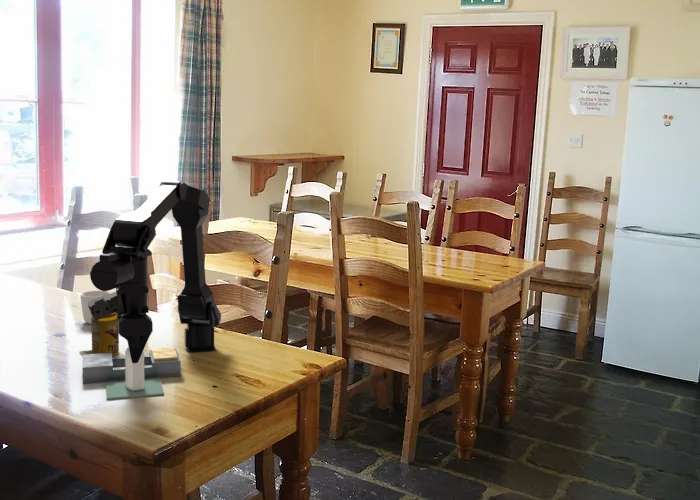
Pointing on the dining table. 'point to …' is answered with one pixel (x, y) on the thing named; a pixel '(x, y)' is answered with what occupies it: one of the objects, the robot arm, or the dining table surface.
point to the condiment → (105, 336)
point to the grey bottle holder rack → (113, 368)
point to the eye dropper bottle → (134, 372)
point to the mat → (121, 391)
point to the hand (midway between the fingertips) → (133, 355)
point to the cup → (86, 298)
